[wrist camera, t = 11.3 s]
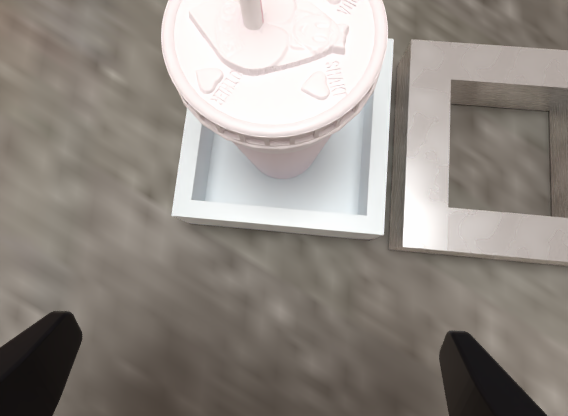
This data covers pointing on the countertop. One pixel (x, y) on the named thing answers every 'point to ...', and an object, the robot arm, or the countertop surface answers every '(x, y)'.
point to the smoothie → (275, 71)
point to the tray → (293, 179)
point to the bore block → (436, 138)
